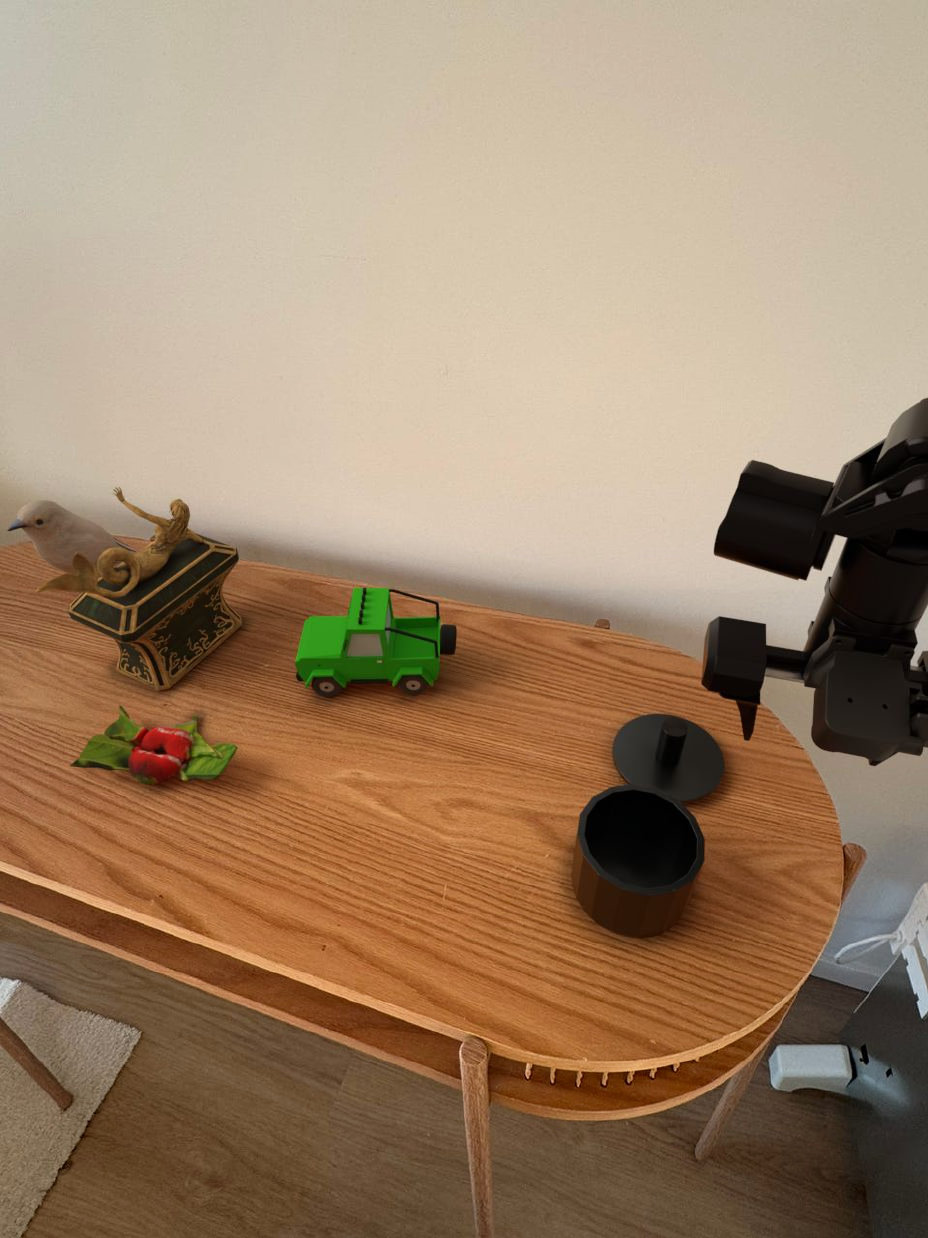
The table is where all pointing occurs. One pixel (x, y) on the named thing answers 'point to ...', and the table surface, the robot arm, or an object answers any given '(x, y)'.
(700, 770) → the lid
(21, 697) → the table surface
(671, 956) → the table surface
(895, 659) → the robot arm
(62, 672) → the table surface
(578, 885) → the pot
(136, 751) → the decorative ornament
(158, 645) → the decorative box
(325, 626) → the toy car
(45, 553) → the bird
